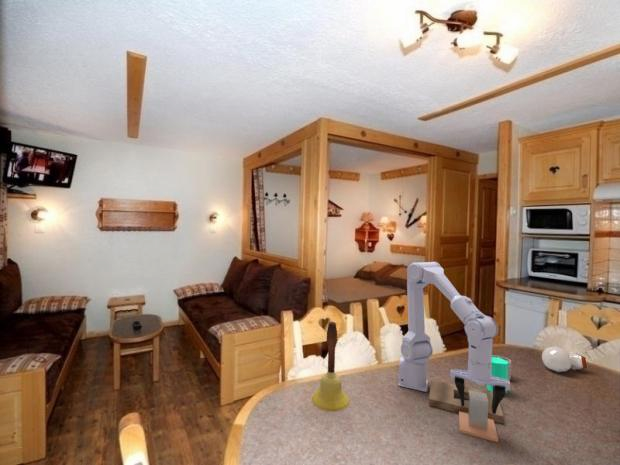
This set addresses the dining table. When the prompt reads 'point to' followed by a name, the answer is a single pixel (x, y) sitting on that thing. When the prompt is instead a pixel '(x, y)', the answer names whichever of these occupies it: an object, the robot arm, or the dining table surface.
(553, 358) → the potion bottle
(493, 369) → the candle
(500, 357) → the mug
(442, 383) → the wooden board with hole
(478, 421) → the steel plug
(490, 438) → the terracotta tile
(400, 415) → the dining table surface
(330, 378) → the handbell
